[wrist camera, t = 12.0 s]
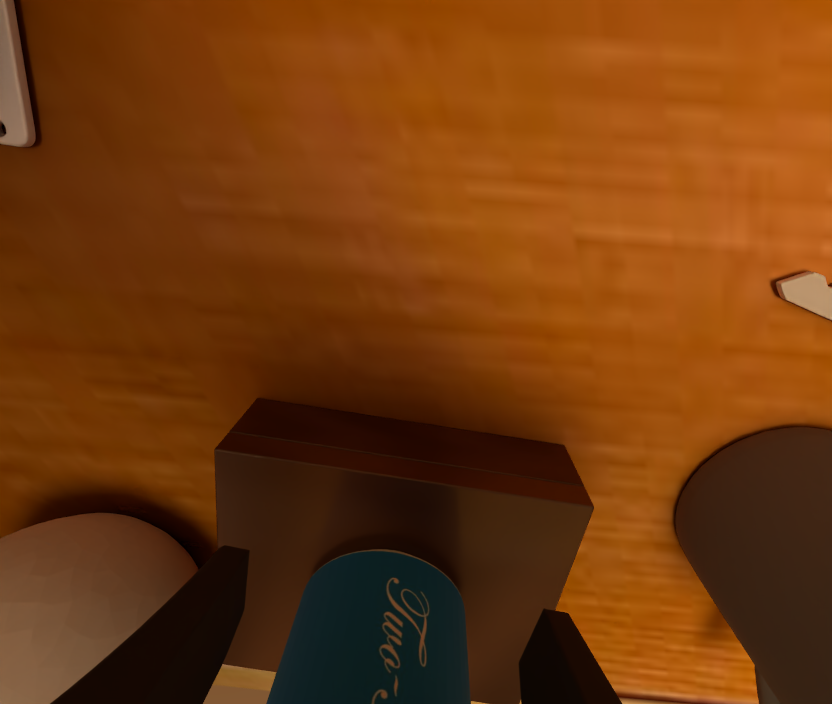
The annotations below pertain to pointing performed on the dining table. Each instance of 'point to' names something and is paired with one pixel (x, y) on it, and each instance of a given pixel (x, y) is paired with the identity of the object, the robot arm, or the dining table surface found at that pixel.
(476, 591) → the shelf
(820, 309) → the key
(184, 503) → the dining table surface
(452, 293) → the dining table surface
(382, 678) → the beverage can
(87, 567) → the decorative egg
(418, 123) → the dining table surface
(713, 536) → the mug
